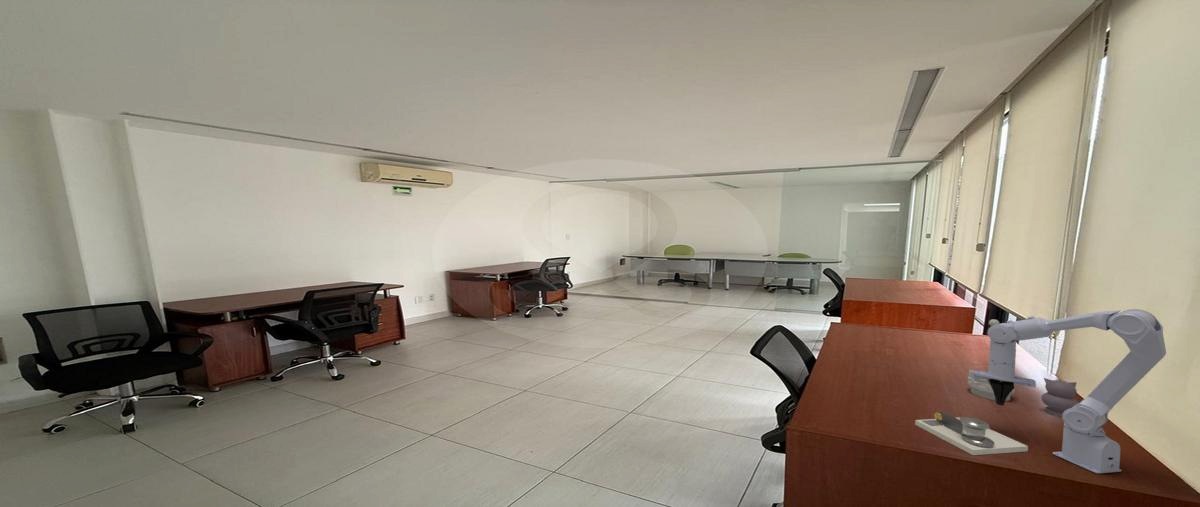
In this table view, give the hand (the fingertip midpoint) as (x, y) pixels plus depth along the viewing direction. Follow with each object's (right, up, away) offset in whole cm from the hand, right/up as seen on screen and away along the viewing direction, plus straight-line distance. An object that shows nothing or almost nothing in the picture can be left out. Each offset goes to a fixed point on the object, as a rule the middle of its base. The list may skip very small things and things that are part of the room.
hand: (999, 404), depth 123 cm
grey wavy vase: (+35, -9, +14) cm, 38 cm away
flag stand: (+27, -8, +30) cm, 41 cm away
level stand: (-12, -10, -2) cm, 15 cm away
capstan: (-15, -8, -3) cm, 17 cm away
